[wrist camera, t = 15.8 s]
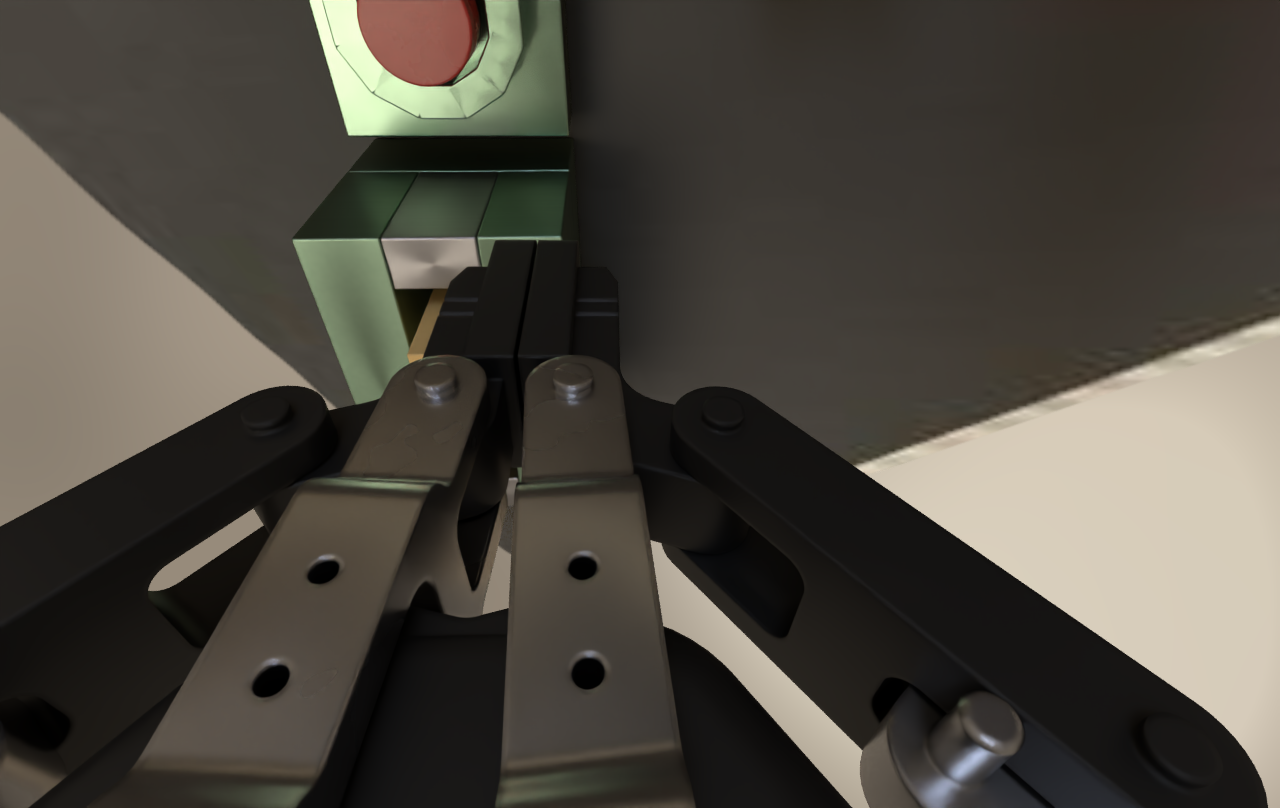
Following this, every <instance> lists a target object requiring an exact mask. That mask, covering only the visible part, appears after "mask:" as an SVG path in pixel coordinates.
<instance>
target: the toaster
mask: <svg viewBox="0 0 1280 808" xmlns="http://www.w3.org/2000/svg"><path fill="white" fill-rule="evenodd" d="M495 240H536V241H537V245H538V241H539V240H578V243H579V260H580V267H581V258H580V241H579V224H578V207H577V189H576V172H575V155H574V140H573V139H572V138H527V139H375V140H374V141H373V142H372V143H371V145H370V146H369V147H368V148H367V149H366V151H365V152H364V153H363V154H362V155H361V157H360V158H359V159H358V160H357V161H356V163H355V164H354V165H353V166H352V168H351V169H350V170H349V171H348V172H347V173H346V174H345V176H344V177H343V178H342V179H341V180H340V182H339V183H338V184H337V185H336V186H335V188H334V189H333V190H332V191H331V192H330V194H329V195H328V196H327V197H326V198H325V200H324V201H323V202H322V203H321V204H320V206H319V207H318V208H317V209H316V210H315V212H314V213H313V214H312V215H311V216H310V218H309V219H308V220H307V221H306V222H305V224H304V225H303V226H302V227H301V228H300V230H299V231H298V232H297V233H296V234H295V236H294V237H293V238H292V242H293V245H294V247H295V250H296V253H297V255H298V258H299V260H300V263H301V265H302V268H303V271H304V273H305V276H306V278H307V281H308V283H309V286H310V289H311V291H312V294H313V296H314V299H315V302H316V304H317V307H318V309H319V312H320V314H321V317H322V320H323V322H324V325H325V327H326V330H327V333H328V335H329V338H330V340H331V343H332V345H333V348H334V351H335V353H336V356H337V358H338V361H339V363H340V366H341V369H342V371H343V374H344V376H345V379H346V382H347V384H348V387H349V389H350V392H351V394H352V397H353V400H354V402H355V405H356V404H361V403H366V402H369V401H373V400H376V399H379V398H381V396H382V394H383V392H384V390H385V389H386V387H387V385H388V383H389V381H390V380H391V378H392V377H393V376H394V375H395V374H396V373H397V372H398V371H399V370H400V369H402V368H403V367H404V366H406V365H408V364H410V363H409V360H408V357H407V354H408V351H409V349H410V346H411V344H412V341H413V339H414V337H415V334H416V332H417V329H418V327H419V324H420V322H421V319H422V317H423V314H424V312H425V309H426V307H427V304H428V302H429V299H430V297H431V294H432V292H433V289H448V287H449V284H450V281H451V280H452V279H454V278H455V277H456V276H457V275H458V274H459V273H461V272H462V271H463V270H464V269H465V268H466V267H467V266H477V267H487V266H488V263H489V259H490V256H491V253H492V249H493V246H494V242H495ZM521 476H522V467H521V468H511V469H510V475H509V481H508V486H507V490H506V492H507V498H508V506H514V493H515V486H516V483H517V482H521Z"/></svg>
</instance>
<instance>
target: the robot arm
mask: <svg viewBox="0 0 1280 808" xmlns="http://www.w3.org/2000/svg"><path fill="white" fill-rule="evenodd" d="M521 467H522V476H521V482H517V483H516V486H515V493H514V510H513V530H512V551H511V573H510V592H509V608H507V609H504V610H500V611H496V612H492V613H488V614H484V615H482V614H483V606H484V600H485V596H486V592H487V588H488V584H489V580H490V576H491V572H492V568H493V564H494V560H495V556H496V551H497V548H498V544H499V540H500V536H501V532H502V528H503V524H504V520H505V516H506V512H507V507H508V498H507V492H506V490H507V486H508V481H509V475H510V469H511V468H521ZM253 508H254V510H255V511H256V513H257V515H258V516H259V518H260V520H261V521H262V523H263V525H264V526H262V527H261V528H259V529H258V530H256V531H255V532H253V533H252V534H250V535H249V536H247V537H246V538H244V539H243V540H241V541H240V542H239V543H237V544H236V545H234V546H233V547H231V548H230V549H228V550H227V551H225V552H224V553H222V554H221V555H219V556H218V557H216V558H215V559H214V560H212V561H210V562H209V563H207V564H206V565H204V566H203V567H201V568H200V569H198V570H197V571H196V572H194V573H193V574H191V575H190V576H188V577H187V578H185V579H184V580H182V581H181V582H179V583H177V584H176V585H174V586H172V587H170V588H167V589H164V590H160V591H148V588H149V585H150V583H151V581H152V579H153V578H154V576H155V575H156V574H157V573H158V572H159V571H160V570H161V569H162V568H163V567H164V566H166V565H167V564H169V563H170V562H172V561H173V560H175V559H176V558H178V557H179V556H181V555H182V554H184V553H185V552H186V551H188V550H190V549H191V548H193V547H195V546H196V545H198V544H199V543H201V542H202V541H204V540H205V539H207V538H208V537H210V536H212V535H213V534H214V533H216V532H218V531H219V530H221V529H222V528H224V527H225V526H227V525H228V524H230V523H232V522H233V521H234V520H236V519H238V518H239V517H241V516H242V515H244V514H245V513H247V512H248V511H250V510H252V509H253ZM650 540H652V541H656V542H660V543H662V546H663V549H664V552H665V553H666V555H667V557H668V558H669V559H670V560H671V562H672V563H673V564H674V565H675V566H676V567H677V568H678V569H679V570H680V571H681V572H682V573H683V574H684V575H685V576H686V577H688V579H689V580H691V582H693V583H694V584H695V585H696V586H697V587H698V588H699V589H700V590H701V591H702V592H703V593H704V594H705V595H706V596H707V597H708V598H709V599H710V600H711V601H712V602H713V603H714V604H715V605H716V606H717V607H718V608H719V609H720V610H721V611H722V612H723V613H724V614H725V615H726V616H727V617H728V618H729V619H730V620H731V621H732V622H733V623H734V624H735V625H736V626H737V627H738V628H739V629H740V630H741V631H742V632H743V633H744V634H745V635H746V636H747V637H748V638H749V639H750V640H751V641H752V642H753V643H754V644H755V645H756V646H757V647H758V648H759V649H760V650H761V651H763V652H764V653H765V655H767V656H768V657H769V658H770V660H772V661H773V662H774V663H775V664H776V665H777V666H778V667H779V668H780V669H781V670H782V671H783V672H784V673H785V674H786V675H787V676H788V677H789V678H790V679H791V680H792V681H793V682H794V683H795V684H796V685H797V686H798V687H799V688H800V689H801V690H802V691H803V692H804V693H805V694H806V695H807V696H808V697H809V698H810V699H811V700H812V701H813V702H814V703H815V704H816V705H817V706H818V707H819V708H820V709H821V710H822V711H824V713H825V714H826V715H827V716H828V717H829V718H830V719H831V720H832V721H833V722H834V723H835V724H836V725H837V726H838V727H839V728H840V729H841V730H842V731H843V732H844V733H846V735H847V736H849V738H850V739H851V740H853V741H854V742H855V743H856V744H857V745H858V746H859V747H860V748H861V749H862V750H863V752H862V756H861V761H860V777H861V784H862V787H863V791H864V795H865V798H866V800H867V803H868V805H869V807H870V808H1268V805H1267V797H1266V792H1265V789H1264V786H1263V783H1262V780H1261V778H1260V776H1259V774H1258V772H1257V770H1256V768H1255V766H1254V764H1253V763H1252V761H1251V759H1250V758H1249V756H1248V755H1247V753H1246V751H1245V750H1244V749H1243V748H1242V746H1241V745H1240V744H1239V743H1238V741H1237V740H1236V739H1235V737H1234V736H1232V734H1231V733H1230V732H1229V731H1228V730H1227V729H1226V728H1225V727H1224V726H1223V725H1222V724H1221V723H1220V722H1219V721H1218V720H1217V719H1215V718H1214V717H1213V716H1212V715H1211V714H1210V713H1209V712H1207V711H1206V710H1205V709H1204V708H1202V707H1201V706H1199V705H1198V704H1197V703H1196V702H1194V701H1193V700H1191V699H1190V698H1188V697H1187V696H1185V695H1184V694H1183V693H1181V692H1180V691H1178V690H1177V689H1175V688H1174V687H1172V686H1171V685H1170V684H1168V683H1167V682H1165V681H1164V680H1162V679H1161V678H1159V677H1158V676H1157V675H1155V674H1154V673H1152V672H1151V671H1149V670H1148V669H1146V668H1145V667H1144V666H1142V665H1141V664H1139V663H1138V662H1136V661H1135V660H1133V659H1132V658H1130V657H1129V656H1127V655H1126V654H1125V653H1123V652H1122V651H1120V650H1119V649H1118V648H1116V647H1115V646H1113V645H1112V644H1110V643H1109V642H1107V641H1106V640H1105V639H1103V638H1102V637H1100V636H1099V635H1097V634H1096V633H1094V632H1093V631H1092V630H1090V629H1089V628H1087V627H1086V626H1084V625H1083V624H1081V623H1080V622H1078V621H1077V620H1076V619H1074V618H1073V617H1071V616H1070V615H1068V614H1067V613H1065V612H1064V611H1063V610H1061V609H1060V608H1058V607H1057V606H1055V605H1054V604H1052V603H1051V602H1049V601H1048V600H1047V599H1045V598H1044V597H1042V596H1041V595H1039V594H1038V593H1037V592H1035V591H1034V590H1032V589H1031V588H1029V587H1028V586H1026V585H1025V584H1024V583H1022V582H1021V581H1019V580H1018V579H1016V578H1015V577H1013V576H1012V575H1011V574H1009V573H1008V572H1006V571H1005V570H1003V569H1002V568H1000V567H999V566H997V565H996V564H995V563H993V562H992V561H990V560H989V559H987V558H986V557H985V556H983V555H982V554H980V553H979V552H977V551H976V550H974V549H973V548H972V547H970V546H969V545H967V544H966V543H964V542H963V541H961V540H960V539H959V538H957V537H956V536H954V535H953V534H951V533H950V532H948V531H947V530H946V529H944V528H943V527H941V526H940V525H938V524H937V523H935V522H934V521H932V520H931V519H929V518H928V517H927V516H925V515H924V514H922V513H921V512H920V511H918V510H916V509H915V508H914V507H912V506H911V505H909V504H908V503H906V502H905V501H903V500H902V499H901V498H899V497H898V496H896V495H895V494H893V493H892V492H891V491H889V490H888V489H886V488H885V487H883V486H882V485H880V484H879V483H877V482H876V481H875V480H873V479H872V478H870V477H869V476H867V475H866V474H865V473H863V472H862V471H860V470H859V469H857V468H856V467H854V466H853V465H852V464H850V463H849V462H847V461H846V460H844V459H843V458H841V457H840V456H839V455H837V454H836V453H834V452H833V451H831V450H830V449H828V448H827V447H826V446H824V445H823V444H821V443H820V442H818V441H817V440H815V439H814V438H813V437H811V436H810V435H808V434H807V433H805V432H804V431H802V430H801V429H800V428H798V427H797V426H795V425H794V424H792V423H791V422H789V421H788V420H787V419H785V418H784V417H782V416H781V415H779V414H778V413H776V412H775V411H774V410H772V409H771V408H769V407H768V406H766V405H765V404H763V403H762V402H760V401H759V400H758V399H756V398H754V397H753V396H751V395H749V394H747V393H745V392H743V391H740V390H737V389H733V388H728V387H718V386H717V387H705V388H700V389H696V390H693V391H691V392H689V393H687V394H685V395H684V396H683V397H681V398H680V399H679V400H678V401H677V403H676V404H675V405H673V404H668V403H664V402H660V401H656V400H653V399H650V398H648V397H645V396H643V395H641V394H640V393H638V392H636V391H635V390H634V389H632V388H631V387H630V386H629V385H628V384H627V383H626V382H625V380H624V378H623V377H622V374H621V371H620V350H619V305H618V282H617V280H616V279H615V278H614V276H613V275H612V274H611V273H610V271H609V270H608V269H607V268H606V267H580V260H579V243H578V240H539V241H538V245H537V241H536V240H495V242H494V246H493V249H492V253H491V256H490V259H489V263H488V266H487V267H477V266H467V267H466V268H465V269H464V270H463V271H462V272H461V273H459V274H458V275H457V276H456V277H455V278H454V279H452V280H451V281H450V284H449V287H448V289H447V292H446V295H445V298H444V302H443V303H442V306H441V309H440V311H439V316H438V317H437V319H436V322H435V325H434V328H433V330H432V333H431V336H430V339H429V341H428V344H427V347H426V350H425V352H424V355H423V358H422V359H419V360H416V361H414V362H412V363H410V364H408V365H406V366H404V367H403V368H402V369H400V370H399V371H398V372H397V373H396V374H395V375H394V376H393V377H392V378H391V380H390V381H389V383H388V385H387V387H386V389H385V390H384V392H383V394H382V396H381V398H379V399H376V400H373V401H369V402H366V403H361V404H356V405H352V406H347V407H343V408H338V409H333V410H328V408H327V406H326V403H325V401H324V399H323V398H322V396H321V395H320V394H318V393H317V392H315V391H314V390H312V389H309V388H305V387H300V386H279V387H273V388H268V389H264V390H261V391H258V392H255V393H252V394H250V395H248V396H246V397H244V398H241V399H240V400H238V401H236V402H234V403H232V404H230V405H228V406H226V407H225V408H223V409H221V410H219V411H217V412H215V413H213V414H212V415H209V416H208V417H206V418H204V419H202V420H200V421H198V422H196V423H195V424H193V425H191V426H189V427H187V428H185V429H183V430H181V431H179V432H178V433H176V434H174V435H172V436H170V437H168V438H166V439H165V440H162V441H161V442H159V443H157V444H155V445H153V446H151V447H149V448H147V449H146V450H144V451H142V452H140V453H138V454H136V455H134V456H132V457H131V458H129V459H127V460H125V461H123V462H121V463H119V464H118V465H115V466H114V467H112V468H110V469H108V470H106V471H104V472H102V473H101V474H98V475H97V476H95V477H93V478H91V479H89V480H87V481H85V482H83V483H82V484H80V485H78V486H76V487H74V488H72V489H70V490H68V491H67V492H65V493H63V494H61V495H59V496H57V497H55V498H53V499H51V500H50V501H48V502H46V503H44V504H42V505H40V506H38V507H36V508H35V509H33V510H31V511H29V512H27V513H25V514H23V515H21V516H19V517H18V518H16V519H14V520H12V521H10V522H8V523H6V524H4V525H2V526H1V527H0V808H852V807H851V806H850V805H849V804H848V803H847V801H846V800H845V799H844V798H843V797H842V796H841V795H840V794H839V792H838V791H837V790H836V789H835V788H834V787H833V786H832V785H831V784H830V782H829V781H828V780H827V779H826V778H825V777H824V776H823V774H822V773H821V772H820V771H819V770H818V769H817V768H816V767H815V766H814V764H813V763H812V762H811V761H810V760H809V759H808V758H807V757H806V755H805V754H804V753H803V752H802V751H801V750H800V749H799V747H798V746H797V745H796V744H795V743H794V742H793V741H792V740H791V738H790V737H789V736H788V735H787V734H786V733H785V732H784V731H783V729H782V728H781V727H780V726H779V725H778V724H777V723H776V722H775V721H774V719H773V718H772V717H771V716H770V715H769V714H768V713H767V711H766V710H765V709H764V708H763V707H762V706H761V705H760V704H759V702H758V701H757V700H756V699H755V698H754V697H753V696H752V695H751V694H750V692H749V691H748V690H747V689H746V688H745V687H744V686H743V685H742V683H741V682H740V681H739V680H738V679H737V678H736V677H735V676H734V674H733V673H732V672H731V671H730V670H729V669H728V668H727V667H726V666H725V665H724V664H723V663H722V662H721V661H719V660H718V659H717V658H716V657H715V656H714V655H712V654H711V653H710V652H709V651H708V650H706V649H705V648H703V647H702V646H700V645H699V644H697V643H696V642H694V641H693V640H691V639H690V638H688V637H686V636H684V635H682V634H680V633H678V632H676V631H674V630H672V629H669V628H666V627H664V626H663V622H662V615H661V609H660V602H659V595H658V589H657V582H656V575H655V569H654V562H653V555H652V549H651V542H650Z"/></svg>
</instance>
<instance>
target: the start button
mask: <svg viewBox="0 0 1280 808" xmlns="http://www.w3.org/2000/svg"><path fill="white" fill-rule="evenodd" d="M357 19H358V24H359V28H360V31H361V34H362V36H363V39H364V41H365V43H366V45H367V47H368V49H369V50H370V52H371V53H372V55H373V56H374V57H375V59H376V60H377V61H378V62H379V63H380V64H381V65H382V66H383V67H384V68H385V69H386V70H387V71H388V72H390V73H391V74H392V75H394V76H395V77H397V78H399V79H400V80H403V81H405V82H407V83H410V84H413V85H417V86H425V87H430V86H438V85H442V84H444V83H447V82H449V81H450V80H452V79H454V78H455V77H456V76H457V75H458V74H459V73H460V72H461V71H462V70H463V68H464V67H465V66H466V64H467V63H468V61H469V60H470V58H471V57H472V55H473V54H474V52H475V49H476V47H477V44H478V41H479V35H480V17H479V11H478V7H477V4H476V1H475V0H357Z"/></svg>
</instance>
